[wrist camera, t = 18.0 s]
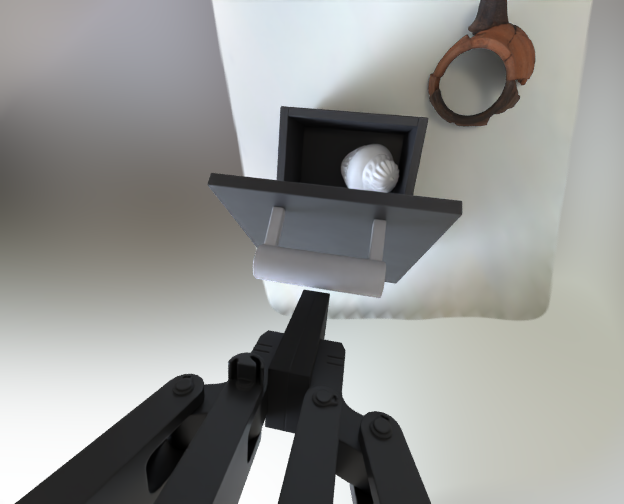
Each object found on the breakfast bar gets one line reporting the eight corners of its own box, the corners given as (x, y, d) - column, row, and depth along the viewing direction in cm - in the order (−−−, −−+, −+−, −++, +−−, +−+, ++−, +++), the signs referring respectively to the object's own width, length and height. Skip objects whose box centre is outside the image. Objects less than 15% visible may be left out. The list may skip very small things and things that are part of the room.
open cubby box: (300, 119, 36) (280, 106, 27) (411, 128, 34) (428, 117, 26) (291, 238, 41) (272, 259, 32) (388, 252, 39) (396, 278, 30)
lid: (210, 172, 16) (182, 259, 15) (462, 200, 15) (460, 302, 13) (271, 257, 32) (261, 304, 30) (396, 276, 30) (392, 326, 29)
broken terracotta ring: (528, 109, 32) (524, 127, 27) (439, 120, 38) (420, 138, 32) (549, -35, 26) (549, -48, 21) (439, 4, 32) (416, 1, 26)
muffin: (321, 164, 32) (362, 179, 27) (358, 126, 33) (405, 135, 28) (344, 201, 36) (383, 220, 31) (377, 167, 37) (420, 181, 32)
